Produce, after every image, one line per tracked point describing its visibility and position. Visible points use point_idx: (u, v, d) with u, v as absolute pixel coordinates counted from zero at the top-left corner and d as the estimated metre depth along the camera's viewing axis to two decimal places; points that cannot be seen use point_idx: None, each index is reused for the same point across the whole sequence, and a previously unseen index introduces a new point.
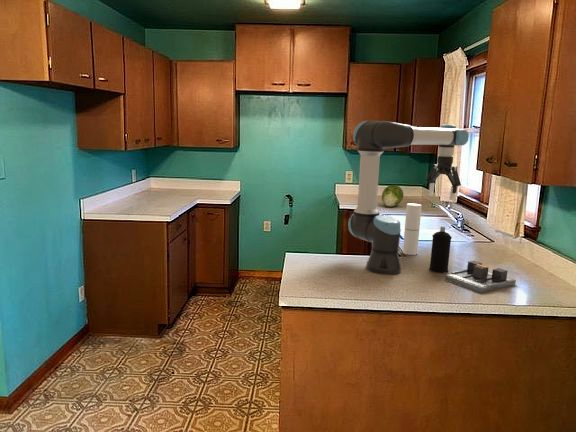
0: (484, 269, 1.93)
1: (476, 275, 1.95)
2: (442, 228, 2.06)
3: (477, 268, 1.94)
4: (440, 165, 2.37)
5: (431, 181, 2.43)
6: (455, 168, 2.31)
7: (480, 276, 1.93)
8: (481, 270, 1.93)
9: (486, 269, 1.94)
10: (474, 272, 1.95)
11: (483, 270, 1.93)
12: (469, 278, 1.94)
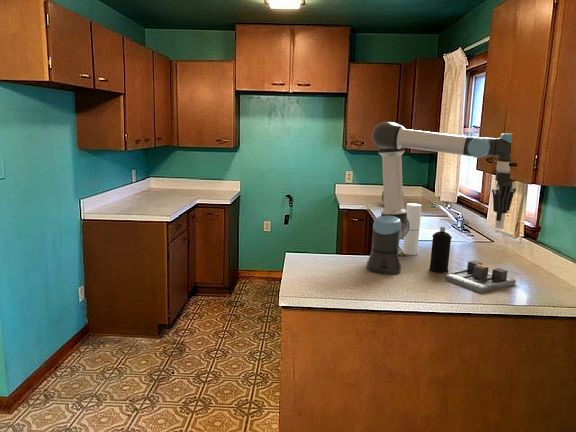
0: (484, 269, 1.93)
1: (476, 275, 1.95)
2: (442, 228, 2.06)
3: (477, 268, 1.94)
4: None
5: None
6: (494, 192, 1.90)
7: (480, 276, 1.93)
8: (481, 270, 1.93)
9: (486, 269, 1.94)
10: (474, 272, 1.95)
11: (483, 270, 1.93)
12: (469, 278, 1.94)
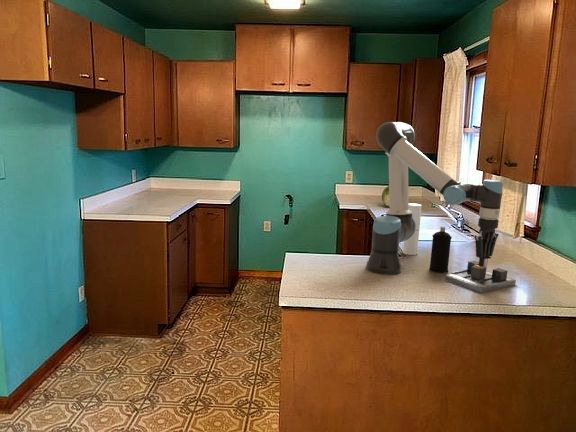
0: (482, 269, 1.92)
1: (474, 275, 1.94)
2: (442, 228, 2.06)
3: (475, 268, 1.93)
4: None
5: None
6: (477, 238, 1.90)
7: (478, 276, 1.92)
8: (479, 270, 1.92)
9: (484, 269, 1.93)
10: (472, 272, 1.95)
11: (481, 270, 1.92)
12: (469, 278, 1.94)
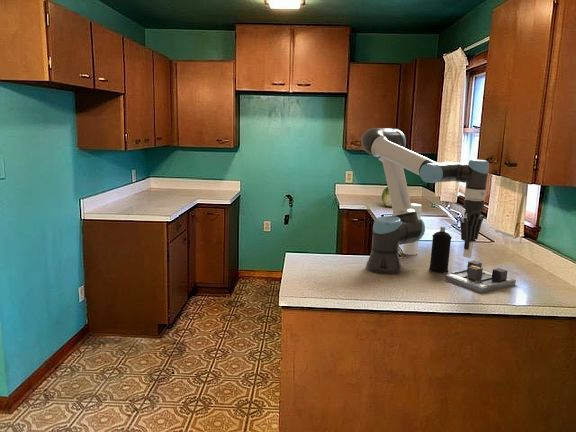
0: (478, 270, 1.91)
1: (470, 276, 1.93)
2: (442, 228, 2.06)
3: (471, 269, 1.92)
4: None
5: None
6: (462, 220, 1.83)
7: (474, 277, 1.91)
8: (475, 271, 1.91)
9: (480, 270, 1.92)
10: (468, 273, 1.93)
11: (477, 271, 1.91)
12: (469, 278, 1.94)
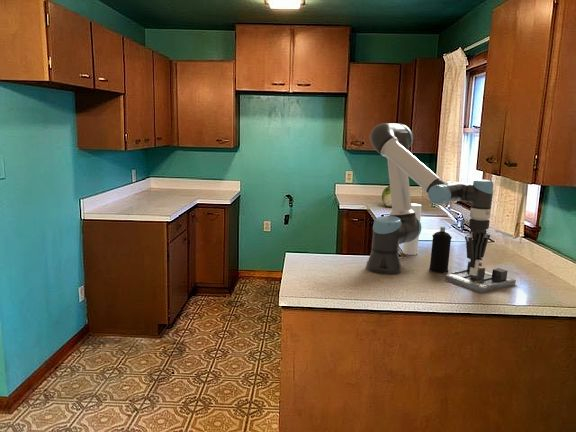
0: (481, 270, 1.92)
1: (473, 276, 1.94)
2: (442, 228, 2.06)
3: None
4: None
5: None
6: (467, 239, 1.87)
7: (477, 277, 1.92)
8: (478, 271, 1.91)
9: (483, 270, 1.92)
10: None
11: (480, 271, 1.91)
12: (469, 278, 1.94)
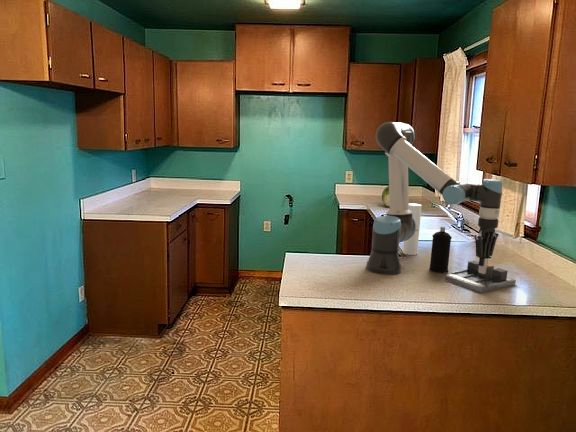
0: (490, 268, 1.95)
1: (482, 274, 1.97)
2: (442, 228, 2.06)
3: None
4: None
5: None
6: (477, 238, 1.90)
7: (486, 275, 1.95)
8: (487, 269, 1.94)
9: (491, 268, 1.95)
10: None
11: (489, 269, 1.95)
12: (469, 278, 1.94)
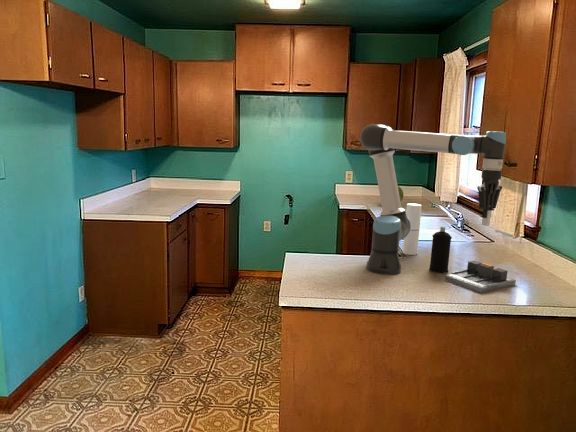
0: (490, 268, 1.95)
1: (482, 274, 1.97)
2: (442, 228, 2.06)
3: (483, 267, 1.96)
4: None
5: None
6: (480, 189, 1.92)
7: (486, 275, 1.95)
8: (487, 269, 1.94)
9: (492, 268, 1.96)
10: (480, 271, 1.97)
11: (489, 269, 1.95)
12: (469, 278, 1.94)
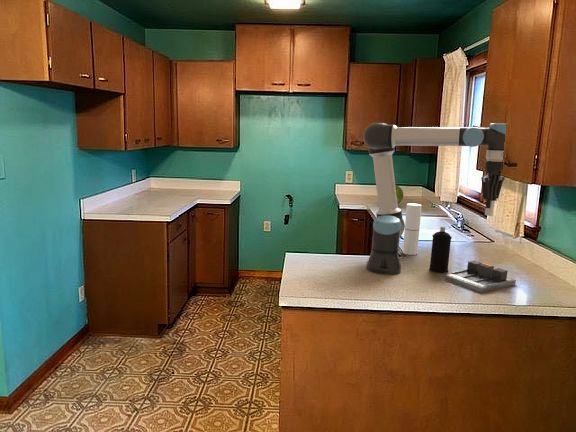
0: (490, 268, 1.95)
1: (482, 274, 1.97)
2: (442, 228, 2.06)
3: (483, 267, 1.96)
4: None
5: None
6: (483, 180, 1.96)
7: (486, 275, 1.95)
8: (487, 269, 1.94)
9: (492, 268, 1.96)
10: (480, 271, 1.97)
11: (489, 269, 1.95)
12: (469, 278, 1.94)
